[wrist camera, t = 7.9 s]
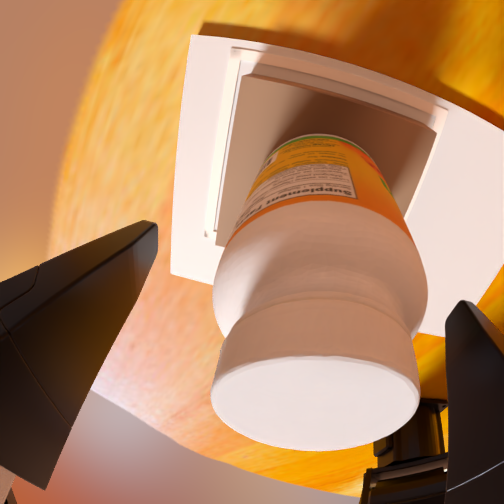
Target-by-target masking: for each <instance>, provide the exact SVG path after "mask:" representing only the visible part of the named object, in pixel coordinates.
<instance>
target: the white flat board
mask: <svg viewBox="0 0 504 504" xmlns="http://www.w3.org/2000/svg"><path fill="white" fill-rule="evenodd" d="M250 73H252V74H258V75H263V76H268V77H273V78H278V79H283V80H287V81H292V82H296V83H301V84H305V85H309V86H313V87H317V88H320V89H324V90H328V91H332V92H335V93H339V94H342V95H345V96H349V97H352V98H355V99H358V100H362V101H365V102H368V103H371V104H374V105H377V106H380V107H383V108H385V109H388V110H391V111H394V112H396V113H399V114H402V115H404V116H407V117H410V118H412V119H415V120H417V121H420V122H422V123H424V124H425V125H427V126H428V127H429V128H431V129H432V130H434V131H435V132H436V133H437V136H436V139H435V141H434V144H433V147H432V150H431V152H430V155H429V158H428V161H427V163H426V166H425V168H424V171H423V173H422V176H421V179H420V181H419V184H418V186H417V188H416V191H415V193H414V196H413V198H412V200H411V203H410V205H409V207H408V210H407V212H406V214H405V217H404V220H405V222H406V225H407V227H408V229H409V231H410V234H411V236H412V238H413V240H414V243H415V245H416V248H417V250H418V252H419V255H420V257H421V260H422V264H423V267H424V270H425V274H426V278H427V284H428V301H427V308H426V312H425V316H424V319H423V321H422V324H421V326H420V328H419V330H418V332H421V333H426V334H431V335H437V336H442V337H445V321H446V319H447V317H448V316H449V314H450V313H451V311H452V310H453V309H454V307H455V306H456V304H457V303H458V302H459V301H460V300H466V301H470V302H472V303H473V304H474V305H475V306H476V304H477V303H478V301H479V300H480V299H481V297H482V296H483V294H484V293H485V291H486V290H487V288H488V287H489V285H490V284H491V282H492V281H493V279H494V278H495V276H496V275H497V273H498V272H499V270H500V268H501V267H502V265H503V264H504V131H503V130H501V129H499V128H498V127H496V126H494V125H492V124H491V123H489V122H487V121H485V120H484V119H482V118H480V117H478V116H476V115H474V114H473V113H471V112H469V111H467V110H465V109H463V108H461V107H459V106H457V105H455V104H453V103H451V102H449V101H447V100H444V99H442V98H440V97H438V96H436V95H433V94H431V93H429V92H427V91H424V90H422V89H420V88H417V87H415V86H412V85H410V84H407V83H405V82H402V81H400V80H397V79H394V78H392V77H389V76H386V75H383V74H381V73H378V72H375V71H372V70H369V69H366V68H363V67H360V66H356V65H353V64H350V63H347V62H343V61H340V60H336V59H332V58H329V57H325V56H321V55H317V54H313V53H309V52H305V51H300V50H296V49H291V48H286V47H281V46H276V45H271V44H265V43H259V42H253V41H247V40H240V39H232V38H224V37H214V36H203V35H191V40H190V46H189V53H188V59H187V66H186V73H185V81H184V89H183V97H182V105H181V114H180V123H179V133H178V144H177V155H176V167H175V181H174V196H173V214H172V238H171V274H174V275H177V276H181V277H185V278H188V279H192V280H196V281H199V282H203V283H207V284H211V285H213V283H214V278H215V274H216V271H217V268H218V265H219V261H220V259H221V256H222V254H223V251H224V249H225V247H221V246H217V245H215V242H216V234H217V227H218V220H219V213H220V206H221V199H222V192H223V185H224V179H225V172H226V166H227V159H228V153H229V147H230V140H231V134H232V128H233V122H234V116H235V110H236V105H237V99H238V93H239V88H240V82H241V77H242V76H243V75H246V74H250Z"/></svg>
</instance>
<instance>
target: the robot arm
mask: <svg viewBox="0 0 504 504" xmlns="http://www.w3.org/2000/svg"><path fill="white" fill-rule="evenodd" d="M157 252H158V226H157V224H156V223H154V222H150V221H146V220H142V221H139V222H137V223H134V224H132V225H129V226H127V227H124V228H122V229H120V230H117V231H115V232H112V233H110V234H107V235H105V236H103V237H100V238H98V239H96V240H93V241H91V242H89V243H86V244H84V245H82V246H79V247H77V248H75V249H73V250H70V251H68V252H66V253H64V254H61V255H59V256H57V257H55V258H52V259H50V260H48V261H46V262H44V263H42V264H40V265H39V266H35V267H33V268H31V269H29V270H27V271H25V272H23V273H20V274H18V275H16V276H14V277H12V278H9V279H7V280H5V281H2V282H0V504H17V502H16V500H15V497H14V494H13V491H12V488H11V485H12V483H13V481H14V479H15V476H16V475H17V476H19V477H20V478H22V479H24V480H26V481H28V482H29V483H31V484H33V485H35V486H37V487H39V488H41V489H43V490H45V489H46V488H47V485H48V483H49V480H50V478H51V475H52V473H53V471H54V468H55V465H56V463H57V461H58V458H59V456H60V454H61V451H62V449H63V447H64V445H65V442H66V440H67V438H68V436H69V433H70V431H71V429H72V428H71V427H72V426H73V424H74V422H75V420H76V418H77V415H78V413H79V411H80V409H81V407H82V404H83V403H84V401H85V399H86V397H87V394H88V392H89V390H90V388H91V386H92V384H93V382H94V380H95V378H96V376H97V374H98V372H99V370H100V368H101V366H102V364H103V363H104V361H105V359H106V357H107V355H108V353H109V351H110V349H111V347H112V345H113V343H114V342H115V340H116V338H117V336H118V334H119V332H120V330H121V329H122V327H123V325H124V323H125V321H126V319H127V318H128V316H129V314H130V312H131V310H132V309H133V307H134V305H135V303H136V301H137V299H138V297H139V295H140V292H141V290H142V288H143V285H144V283H145V281H146V278H147V276H148V274H149V271H150V269H151V267H152V265H153V262H154V260H155V258H156V255H157ZM445 351H446V380H447V397H448V401H445V400H429V399H420V402H419V405H418V408H417V410H416V412H415V414H414V415H413V416H412V417H411V419H410V420H409V421H408V422H407V423H405V424H404V425H403V426H402V427H400V428H399V429H398V430H396V431H395V432H393V433H392V434H390V435H388V436H386V437H383V438H381V439H379V440H376V441H374V442H373V444H374V456H375V457H378V468H374V469H373V468H368V469H367V470H366V473H365V474H364V479H363V490H362V494H361V498H360V502H359V504H504V335H503V334H502V333H501V332H500V331H499V330H498V329H497V328H496V327H495V325H494V324H493V323H492V322H491V321H490V320H489V319H488V318H487V317H486V316H485V315H484V314H483V313H482V312H481V311H480V310H479V309H478V308H477V307H476V306H475V305H474V304H473V303H472V302H470V301H466V300H460V301H459V302H458V303H457V304H456V306H455V307H454V309H453V310H452V311H451V313H450V314H449V316H448V317H447V319H446V321H445ZM446 407H448V452H446V453H445V447H444V438H443V431H442V423H441V417H440V412H442V411H443V410H444V409H445V408H446ZM444 469H447V471H446V472H444Z"/></svg>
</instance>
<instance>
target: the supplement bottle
mask: <svg viewBox="0 0 504 504" xmlns="http://www.w3.org/2000/svg"><path fill="white" fill-rule="evenodd" d="M427 301H428V284H427V278H426V274H425V270H424V267H423V264H422V260H421V257H420V255H419V252H418V250H417V248H416V245H415V243H414V240H413V238H412V236H411V234H410V231H409V229H408V227H407V225H406V222H405V220H404V218H403V216H402V214H401V211H400V209H399V207H398V205H397V203H396V201H395V199H394V197H393V195H392V193H391V191H390V189H389V187H388V185H387V183H386V181H385V179H384V177H383V175H382V174H381V172H380V170H379V168H378V167H377V165H376V164H375V162H374V161H373V159H372V158H371V157H370V156H369V155H368V154H367V153H366V152H365V151H364V150H363V149H362V148H361V147H359V146H358V145H356V144H355V143H353V142H351V141H349V140H347V139H344V138H342V137H339V136H335V135H329V134H308V135H303V136H299V137H296V138H293V139H291V140H289V141H287V142H285V143H284V144H282V145H281V146H279V147H278V148H277V149H275V150H274V151H273V152H272V153H271V154H270V155H269V157H268V158H267V159H266V160H265V162H264V163H263V165H262V166H261V168H260V170H259V172H258V174H257V176H256V178H255V180H254V183H253V185H252V187H251V189H250V192H249V194H248V196H247V198H246V201H245V203H244V205H243V208H242V209H241V212H240V215H239V217H238V219H237V222H236V224H235V226H234V228H233V231H232V233H231V235H230V238H229V240H228V242H227V244H226V247H225V249H224V251H223V254H222V256H221V259H220V261H219V265H218V268H217V271H216V274H215V278H214V283H213V308H214V313H215V317H216V320H217V323H218V325H219V327H220V329H221V331H222V333H223V335H224V337H225V340H224V342H223V344H222V347H221V350H220V357H219V361H218V365H217V369H216V372H215V376H214V380H213V383H212V387H211V403H212V406H213V409H214V410H215V412H216V414H217V415H218V416H219V417H220V418H221V420H222V421H223V422H224V423H225V424H227V425H228V426H229V427H231V428H232V429H234V430H235V431H237V432H239V433H241V434H242V435H244V436H247V437H249V438H251V439H253V440H256V441H258V442H261V443H264V444H268V445H272V446H276V447H280V448H287V449H295V450H305V451H330V450H340V449H346V448H352V447H356V446H360V445H364V444H368V443H371V442H374V441H376V440H379V439H381V438H383V437H386V436H388V435H390V434H392V433H393V432H395V431H396V430H398V429H399V428H400V427H402V426H403V425H404V424H405V423H407V422H408V421H409V420H410V419H411V417H412V416H413V415H414V414H415V412H416V410H417V408H418V405H419V402H420V393H421V391H420V383H419V376H418V369H417V363H416V358H415V353H414V349H413V344H412V340H413V338H414V337H415V335H416V333H417V332H418V330H419V328H420V326H421V324H422V321H423V319H424V316H425V312H426V308H427Z"/></svg>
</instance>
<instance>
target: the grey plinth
mask: <svg viewBox="0 0 504 504" xmlns="http://www.w3.org/2000/svg"><path fill="white" fill-rule="evenodd" d="M308 134H329V135H335V136H339V137H342V138H344V139H347V140H349V141H351V142H353V143H355V144H356V145H358V146H359V147H361V148H362V149H363V150H364V151H365V152H366V153H367V154H368V155H369V156H370V157H371V158H372V159H373V161H374V162H375V164H376V165H377V167H378V168H379V170H380V172H381V174H382V175H383V177H384V179H385V181H386V183H387V185H388V187H389V189H390V191H391V193H392V195H393V197H394V199H395V201H396V203H397V205H398V207H399V209H400V211H401V214H402V216H403V218H404V217H405V214H406V212H407V210H408V207H409V205H410V203H411V200H412V198H413V196H414V193H415V191H416V188H417V186H418V184H419V181H420V179H421V176H422V173H423V171H424V168H425V166H426V163H427V161H428V158H429V155H430V152H431V150H432V147H433V144H434V141H435V139H436V136H437V133H436V132H435V131H434V130H432V129H431V128H429V127H428V126H427V125H425V124H424V123H422V122H420V121H417V120H415V119H412V118H410V117H407V116H404V115H402V114H399V113H396V112H394V111H391V110H388V109H385V108H383V107H380V106H377V105H374V104H371V103H368V102H365V101H362V100H358V99H355V98H352V97H349V96H345V95H342V94H339V93H335V92H332V91H328V90H324V89H320V88H317V87H313V86H309V85H305V84H301V83H296V82H292V81H287V80H283V79H278V78H273V77H268V76H263V75H258V74H252V73H250V74H246V75H243V76H242V77H241V82H240V88H239V93H238V99H237V105H236V110H235V116H234V122H233V128H232V134H231V140H230V147H229V153H228V159H227V166H226V172H225V179H224V185H223V192H222V199H221V206H220V213H219V220H218V227H217V234H216V242H215V245H217V246H221V247H226V244H227V242H228V240H229V238H230V235H231V233H232V231H233V228H234V226H235V224H236V222H237V219H238V217H239V215H240V212H241V209H242V208H243V205H244V203H245V201H246V198H247V196H248V194H249V192H250V189H251V187H252V185H253V183H254V180H255V178H256V176H257V174H258V172H259V170H260V168H261V166H262V165H263V163H264V162H265V160H266V159H267V158H268V157H269V155H270V154H271V153H272V152H273V151H274V150H275V149H277V148H278V147H279V146H281V145H282V144H284V143H285V142H287V141H289V140H291V139H293V138H296V137H299V136H303V135H308Z"/></svg>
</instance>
